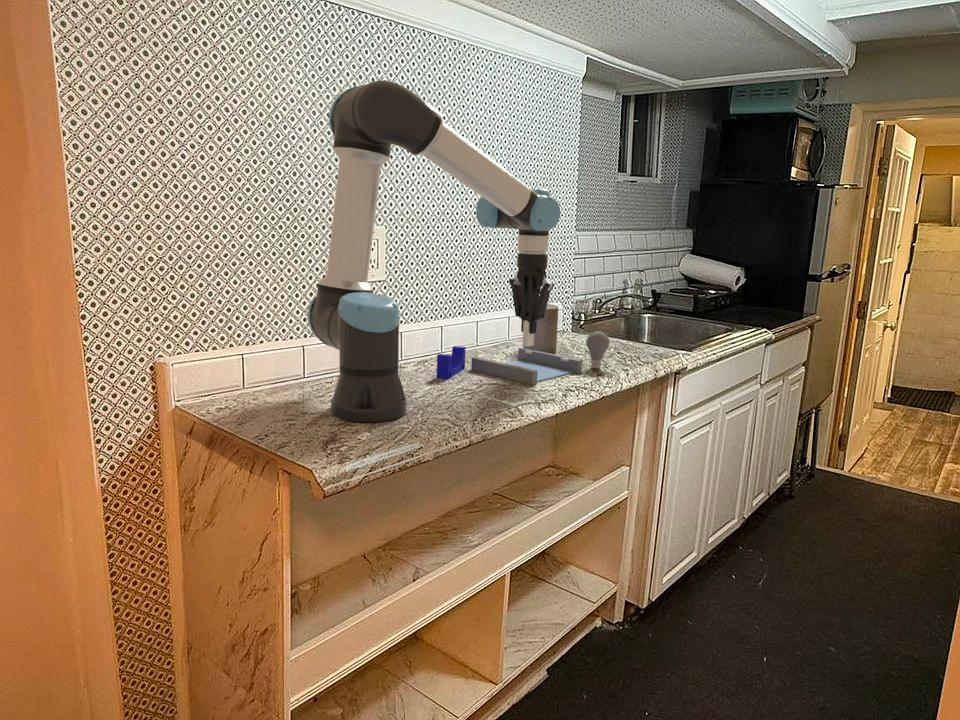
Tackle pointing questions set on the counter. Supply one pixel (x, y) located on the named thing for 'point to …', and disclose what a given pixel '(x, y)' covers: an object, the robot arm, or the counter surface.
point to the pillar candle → (546, 331)
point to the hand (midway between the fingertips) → (528, 345)
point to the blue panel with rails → (529, 366)
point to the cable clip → (451, 363)
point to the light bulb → (597, 347)
